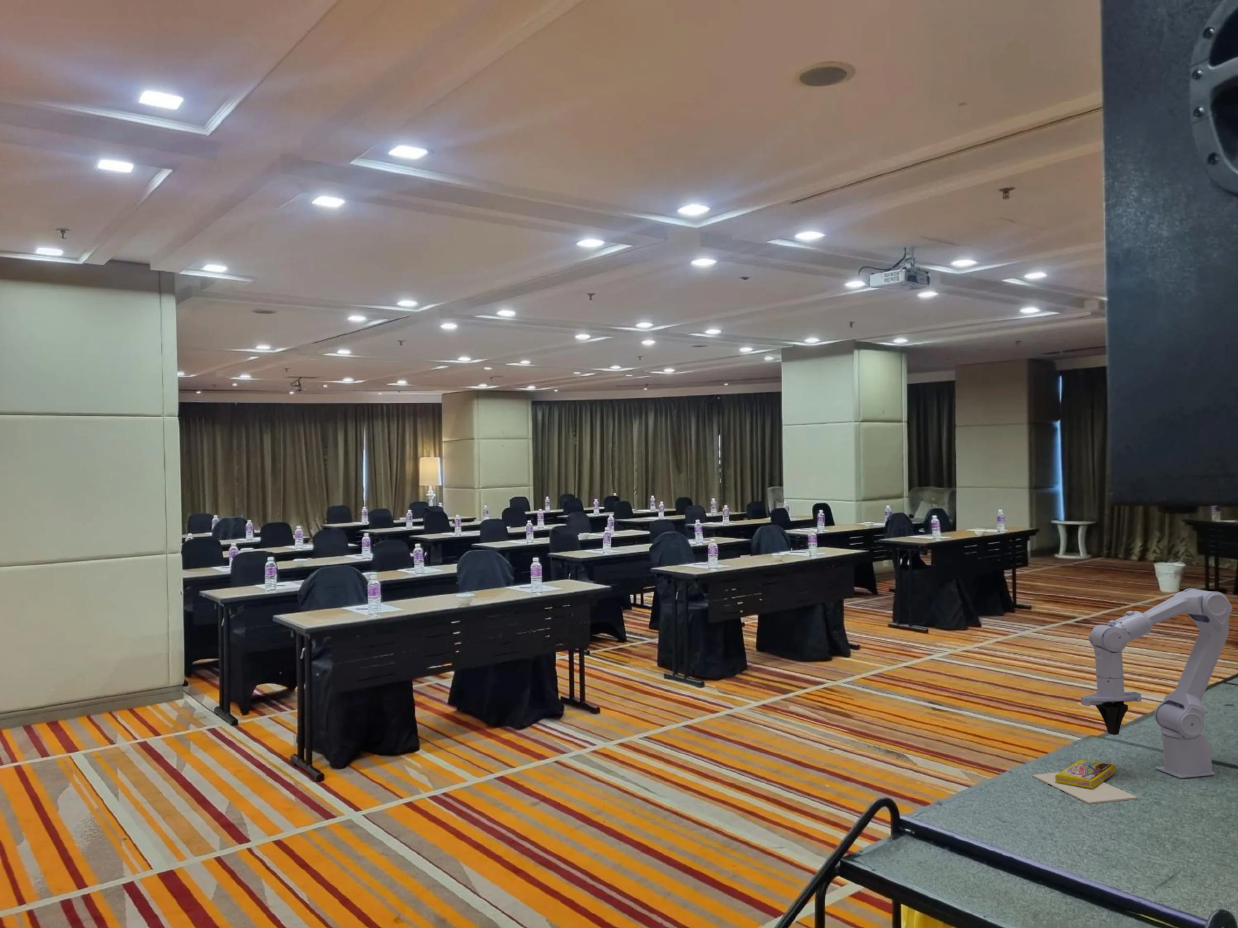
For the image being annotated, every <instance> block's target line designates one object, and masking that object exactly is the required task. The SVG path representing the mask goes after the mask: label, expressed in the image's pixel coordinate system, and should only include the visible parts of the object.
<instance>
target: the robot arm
mask: <svg viewBox="0 0 1238 928" xmlns="http://www.w3.org/2000/svg"><path fill="white" fill-rule="evenodd" d="M1232 611H1233V607H1232V604H1231V602H1230V601H1229V599H1228V598H1227V596H1226V595H1225V594H1224V593H1222V592H1220V591H1208V590H1202V589H1197V588H1193V587H1190V588H1186V589H1184V590H1183V591H1179V592H1176V593H1175V594H1174V595H1173V596H1172V597H1170V598H1168V599H1166V600H1165V601H1162V602H1161V603H1159V604H1157V605H1155V606H1153V607H1151V608H1149V609H1148V610H1146V611H1144V612H1140V611H1138V610H1135V611H1132V610H1128V611H1126V612H1125V615H1123V616H1122V617H1121V616H1120V618H1118V619H1115V620H1114V619H1110V620H1109V621H1108V623H1107V624H1097V625H1096V626H1094V627H1093V629H1091V630H1090V631H1091V632H1090V635H1088V636H1087V637H1088V641H1089V643H1090V644H1091V646H1092V648H1093V650H1094V651H1093V653H1094V656H1095V657H1094V660H1095V676H1096V692H1095V693H1093V694H1088V695H1083V696H1080V702H1081V703H1080V704H1081V705H1082V706H1085V707H1090V706H1095V707H1096V708H1097V711H1098V712H1099V713H1100V715H1101V718H1102V719H1103V723H1104V725H1105V727H1106V730H1107V733H1108V735H1112V736H1119V734H1120V730H1121V725H1122V722H1123V719H1124V717H1125V715H1126V713H1127V711H1128V710H1129V705H1128V704H1127V703H1132V702H1137V703H1141V702H1142V693H1140V692H1137V691H1128V692H1127V691H1125V679H1124V677H1125V676H1124V667H1123V665H1124V664H1123V651H1124V650H1125V648H1126V646H1127V644H1129V643H1130V642H1133V641H1135V640H1137V639H1139V638H1141V637H1144V636H1145V635H1147V634H1150V633H1151V631H1152V627H1153V626H1155V625H1157V624H1159V623H1161V622H1164V621H1167V620H1170V619H1172V618H1174V617H1177V616H1179V615H1182V614H1186V616H1188V618H1189V619H1191V621H1193V623H1195V625H1196V627H1197V629H1198V630H1199V633H1198V635H1197V638H1196V640H1195V642H1194V645H1193V646H1192V649H1191V652H1190V654H1189V656H1188V659H1187V661H1186V662H1185V663H1186V664H1185V666H1184V668H1183V670H1182V673H1181V676H1180V678H1179V680H1178V683H1177V685H1176V688H1175V689H1174V691H1172V692H1170V693H1168V694H1166V695H1165V696H1164V699H1163V700H1162V701H1161V702H1160V703H1159V704H1158V706H1156V708H1155V710H1154V716H1153V717H1154V720H1155V723H1156V724H1157V725H1158V726H1159V727H1160V731H1161V735H1162V736H1161V737H1162V752H1163V755H1162V756H1163V765H1158V766H1155V767H1154V769H1155V770H1158V771H1161V772H1162V773H1166V774H1168V775H1172V776H1174V777H1176V778H1179V779H1185V778H1187V779H1188V778H1196V777H1207V776H1214V775H1216V772H1214V771H1213V765H1212V762H1213V761H1212V750H1211V744H1210V742H1209V740H1208V738H1206V736H1205V735H1203V734H1201V733H1203V730H1204V728H1205V722H1204V721H1205V715H1206V711H1207V710H1206V708H1205V707H1204V705H1203V703H1202V699H1203V697H1204V695H1205V692H1206V690H1207V687H1208V685H1209V683H1210V679H1211V678H1212V675H1213V673H1214V670H1215V667H1216V665H1217V662H1219V658H1220V656H1221V654H1222V651H1223V649H1224V646H1225V645H1226V641H1227V639H1228V637H1229V633H1230V615H1231V613H1232Z"/></svg>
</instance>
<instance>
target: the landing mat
mask: <svg viewBox="0 0 1238 928" xmlns="http://www.w3.org/2000/svg"><path fill="white" fill-rule="evenodd" d="M1060 772H1061V771H1058V772H1049V773H1038V774H1032V775H1031V777H1032V778H1034V779H1036V780H1038V781H1039V782H1042V783H1044V784H1046V783H1047V784H1046V785H1048V784H1050V785H1052V786H1054V787H1056V788H1058V789H1059V790H1058V789H1057V790H1058V791H1060V790H1062V791H1064V792H1066V793H1068V794H1067V795H1069V794H1070V795H1069V796H1070V797H1073V796H1074V797H1073V798H1075V797H1076V798H1075V799H1077V800H1079V799H1080V800H1079V801H1081V802H1083V803H1085V804H1087V805H1093V804H1095V805H1096V804H1102V803H1103V804H1104V803H1112V802H1122V801H1133V800H1134V801H1135V800H1138V799H1139V798H1138V797H1137V796H1136V795H1134V794H1131V793H1129V792H1127V791H1125V790H1123V789H1119V788H1118V787H1115V786H1113V785H1111V784H1108V783H1106V782H1104V781H1103V782H1101V783H1100V784H1099V785H1097V786H1096V787H1095V788H1093V789H1091V788H1086V787H1080V786H1074V785H1069V784H1063V783H1058V782H1056V780H1055V775H1057V774H1058V773H1060ZM1050 785H1049V786H1050ZM1052 786H1051V787H1052ZM1054 787H1053V788H1054ZM1056 788H1055V789H1056ZM1062 791H1061V792H1062ZM1064 792H1063V793H1064ZM1066 793H1065V794H1066Z"/></svg>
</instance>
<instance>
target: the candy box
mask: <svg viewBox="0 0 1238 928" xmlns="http://www.w3.org/2000/svg"><path fill="white" fill-rule="evenodd" d="M1059 772H1060V773H1058V774H1057V775H1055V780H1056V782H1058V783H1063V784H1069V785H1074V786H1080V787H1086V788H1091V789H1093V788H1095V787H1096V786H1097V785H1099V784H1100V783H1101V782H1104V781H1105V780H1107V779H1108V778H1111V777H1112V776H1113V775H1114V774H1115V773H1117V767H1116V764H1115V763H1106V762H1100V761H1093V760H1088V759H1079V760H1077V761H1075V762H1074V763H1073V764H1071V765H1070V766H1068V767H1066V768H1065V769H1063V770H1061V771H1059Z"/></svg>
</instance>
